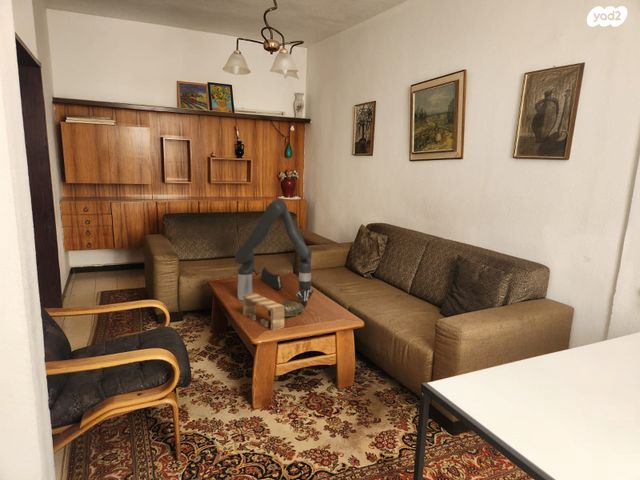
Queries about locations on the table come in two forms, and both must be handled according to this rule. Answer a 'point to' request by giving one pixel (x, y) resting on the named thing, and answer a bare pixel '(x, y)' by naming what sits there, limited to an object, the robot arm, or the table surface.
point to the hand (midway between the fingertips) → (304, 306)
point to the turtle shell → (291, 308)
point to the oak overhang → (275, 308)
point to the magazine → (271, 279)
